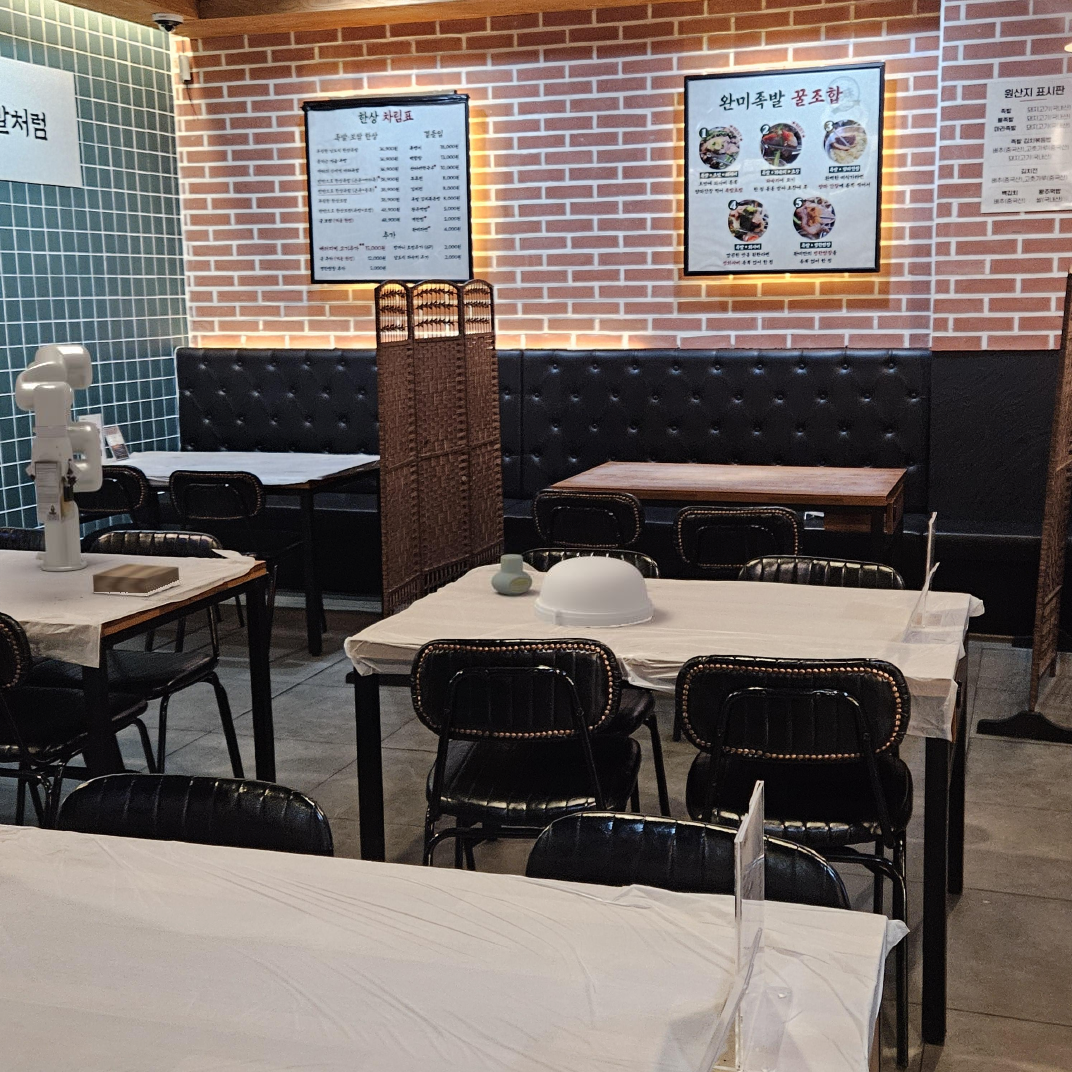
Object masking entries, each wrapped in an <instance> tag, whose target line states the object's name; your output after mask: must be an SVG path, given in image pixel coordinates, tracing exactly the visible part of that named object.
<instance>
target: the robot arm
mask: <svg viewBox="0 0 1072 1072" xmlns="http://www.w3.org/2000/svg"><path fill="white" fill-rule="evenodd" d="M92 382H93V364H92V358H91V354H90V352H89V350H88V349H87V347H85V346H84V345H82V344H77V343H75V344H71V343H70V344H60V343H59V344H55V343H54V344H47V345H43V346H40V347H39V348H38V349H37V351H36V352H35V354H34V361H33V362H30V363H29V364H28V366H27V368H26V370H23V371H22V372H21V373H19V374H18V375H17V378H16V381H15V389H14V398H15V399H14V400H15V403H16V405H17V406H16V407H18V408H19V409H20V410H22V411H24V412H27V411H28V412H34V422H35V423H34V425H35V426H34V427H33V428H32V432H33V433H35V437H33V439H32V443H31V445H32V446H31V457H30V459H31V462H30V464H29V465H28V466H27V467H25V472H26V473H27V475H28V476H29V478H30V479H31V481H32V482H33V485H34V486H36V480H35V464H34V462H35V461H40V460H41V461H42V460H43V461H58V462H60V476H61V477H63V482H64V484H65V487H63V491H64V502H70V501H73V497H75V493H79V492H80V493H81V492H83V493H84V492H96V491H98V490H100V489H101V487H102V485H103V466H102V465H103V464H102V449H101V439H100V432H99V429H98V426H97V424H95V423H94V422H90V421H73V419H72V407H71V406H72V404H73V403H74V399H75V394H74V393H75V392H74V390H86V389H88V388H90V387H91V385H92ZM74 455H82V456H83V457H84V458H74ZM71 475H72V476H71ZM74 513H75V517H74V518H72V519H70V520H68V521H66V522H63V523H43V526H44V527H43V528H44V540H45V541H44V543H45V552H44V551H43V552H42V551H40V552H37V554H36V556H35V559H36V560H37V561H40V560H42V563H41V565H40V568H41V570H43V571H48V572H67V571H76V570H81V569H84V568H86V567H87V565H88V563H87V561H85V560H82V553H81V538H80V536H81V535H80V534H81V532H80V520H79V519H80V518H79V507H78V505H77V503H76V502H75V501H74Z"/></svg>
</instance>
